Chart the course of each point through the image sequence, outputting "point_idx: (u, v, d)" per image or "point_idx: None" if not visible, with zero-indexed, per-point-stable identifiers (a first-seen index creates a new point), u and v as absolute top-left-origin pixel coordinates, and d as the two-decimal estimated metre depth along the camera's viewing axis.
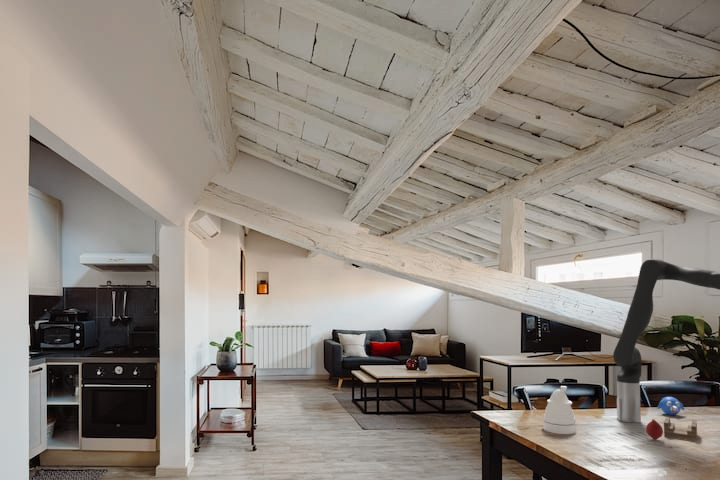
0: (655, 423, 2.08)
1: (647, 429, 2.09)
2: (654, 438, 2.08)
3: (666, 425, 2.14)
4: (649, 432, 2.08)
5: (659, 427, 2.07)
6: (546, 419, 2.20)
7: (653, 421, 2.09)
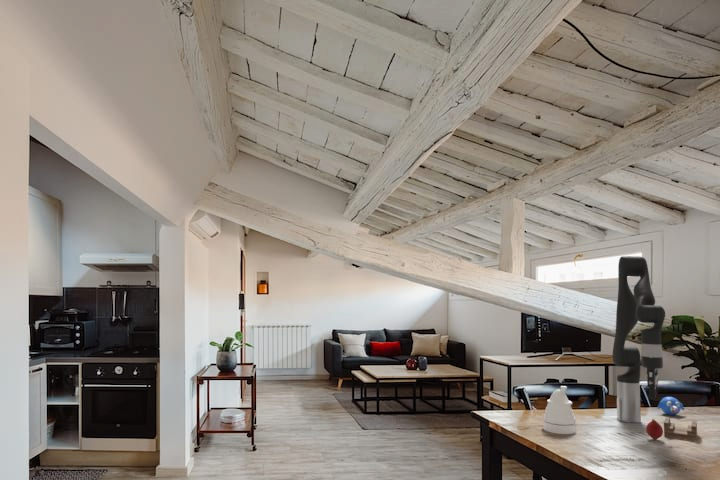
0: (655, 423, 2.08)
1: (647, 429, 2.09)
2: (654, 438, 2.08)
3: (666, 425, 2.14)
4: (649, 432, 2.08)
5: (659, 427, 2.07)
6: (546, 419, 2.20)
7: (653, 421, 2.09)
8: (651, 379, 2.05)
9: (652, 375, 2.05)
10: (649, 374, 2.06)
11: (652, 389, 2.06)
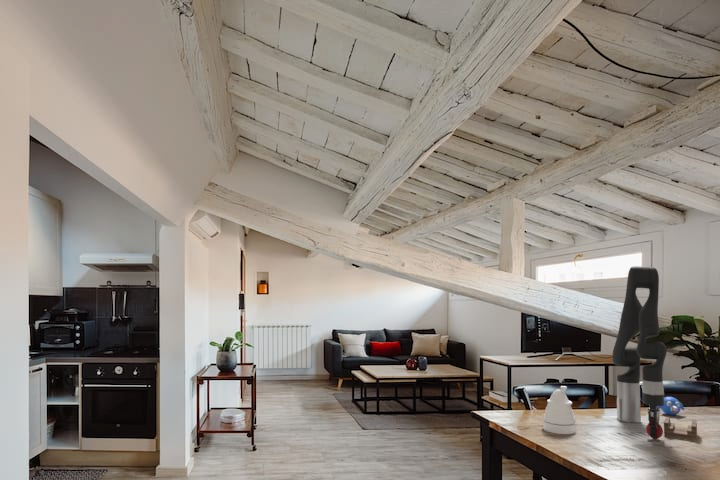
0: None
1: (647, 429, 2.09)
2: (654, 438, 2.08)
3: (666, 425, 2.14)
4: (649, 432, 2.08)
5: (659, 427, 2.07)
6: (546, 419, 2.20)
7: None
8: (652, 419, 2.04)
9: (653, 415, 2.04)
10: (650, 414, 2.04)
11: (654, 428, 2.06)
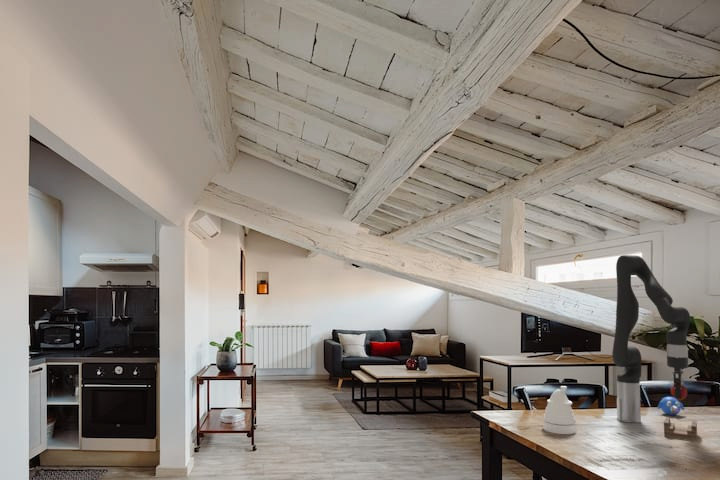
0: None
1: (672, 391, 2.17)
2: (679, 399, 2.16)
3: (666, 425, 2.14)
4: (674, 393, 2.16)
5: (684, 388, 2.15)
6: (546, 419, 2.20)
7: None
8: (677, 380, 2.13)
9: (678, 377, 2.12)
10: (675, 376, 2.13)
11: (678, 390, 2.14)
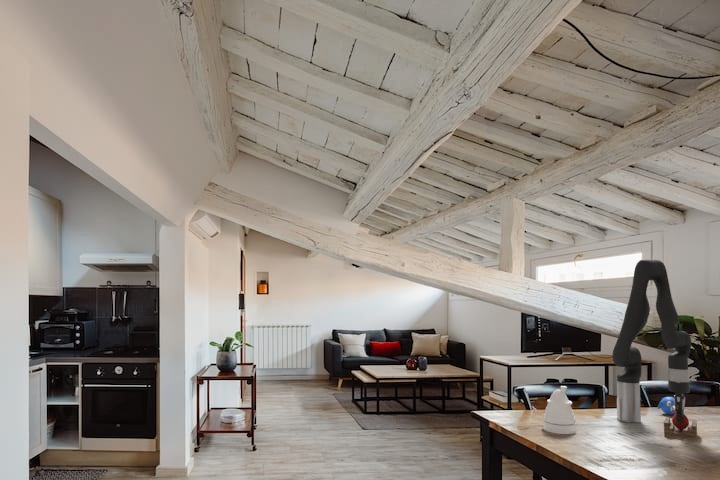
0: None
1: (673, 420, 2.16)
2: (680, 429, 2.15)
3: (666, 425, 2.14)
4: (675, 423, 2.15)
5: (685, 418, 2.14)
6: (546, 419, 2.20)
7: None
8: (679, 404, 2.11)
9: (680, 400, 2.11)
10: (677, 399, 2.12)
11: (680, 413, 2.12)
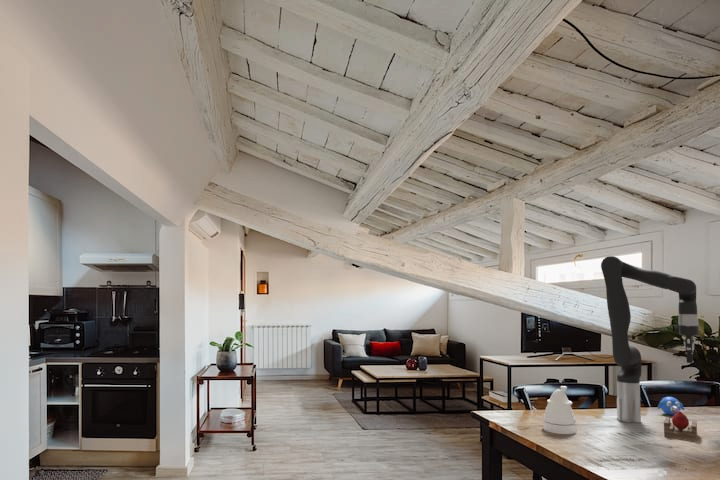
0: (681, 414, 2.15)
1: (673, 420, 2.16)
2: (680, 429, 2.15)
3: (666, 425, 2.14)
4: (675, 423, 2.15)
5: (685, 418, 2.14)
6: (546, 419, 2.20)
7: (679, 412, 2.16)
8: (689, 345, 2.27)
9: (690, 341, 2.27)
10: (687, 341, 2.28)
11: (689, 354, 2.28)
